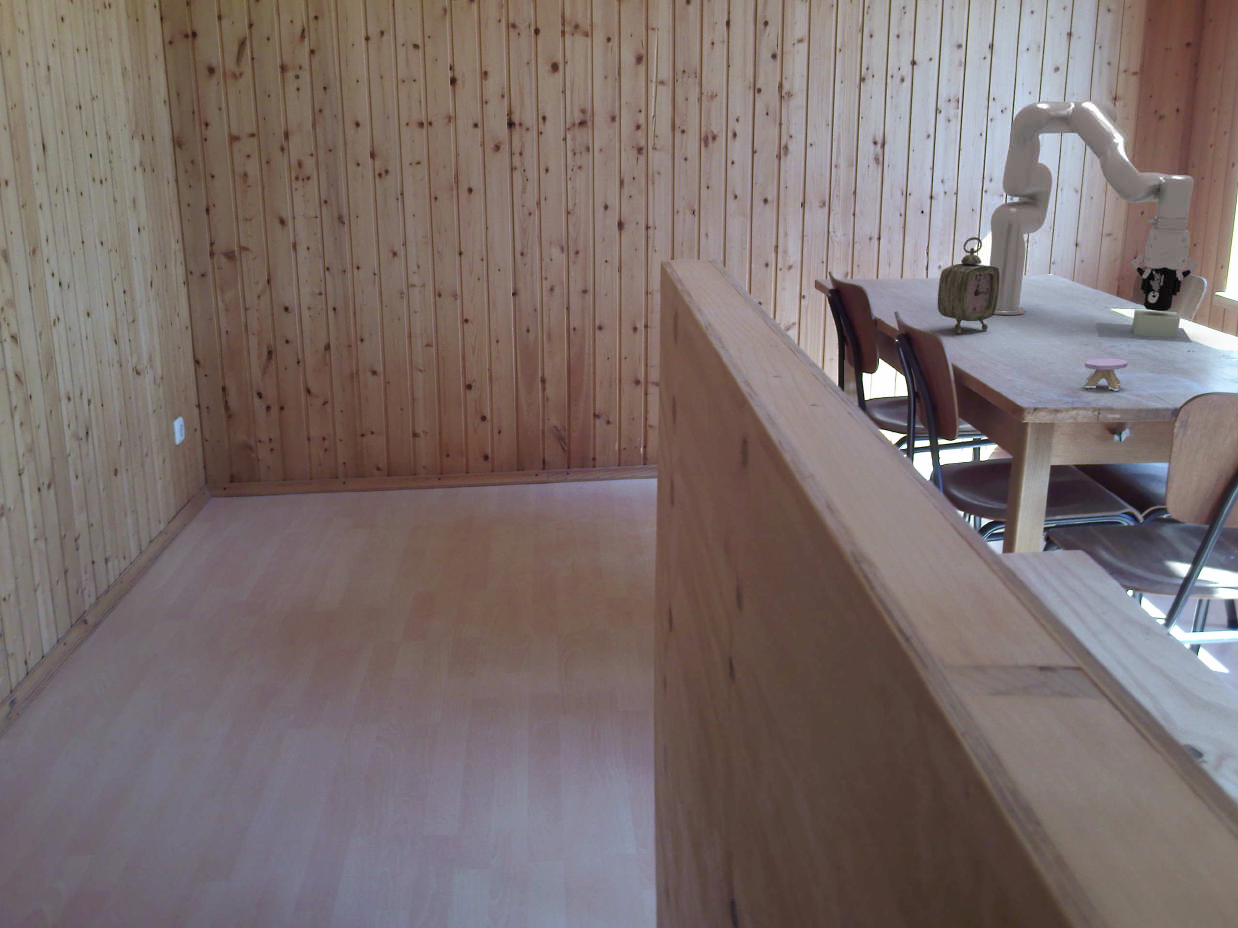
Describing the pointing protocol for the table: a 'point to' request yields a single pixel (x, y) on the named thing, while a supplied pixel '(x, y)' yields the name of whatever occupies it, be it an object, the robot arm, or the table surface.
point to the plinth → (1156, 323)
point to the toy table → (1104, 371)
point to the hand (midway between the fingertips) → (1159, 293)
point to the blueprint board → (1128, 332)
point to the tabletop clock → (968, 290)
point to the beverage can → (1160, 289)
